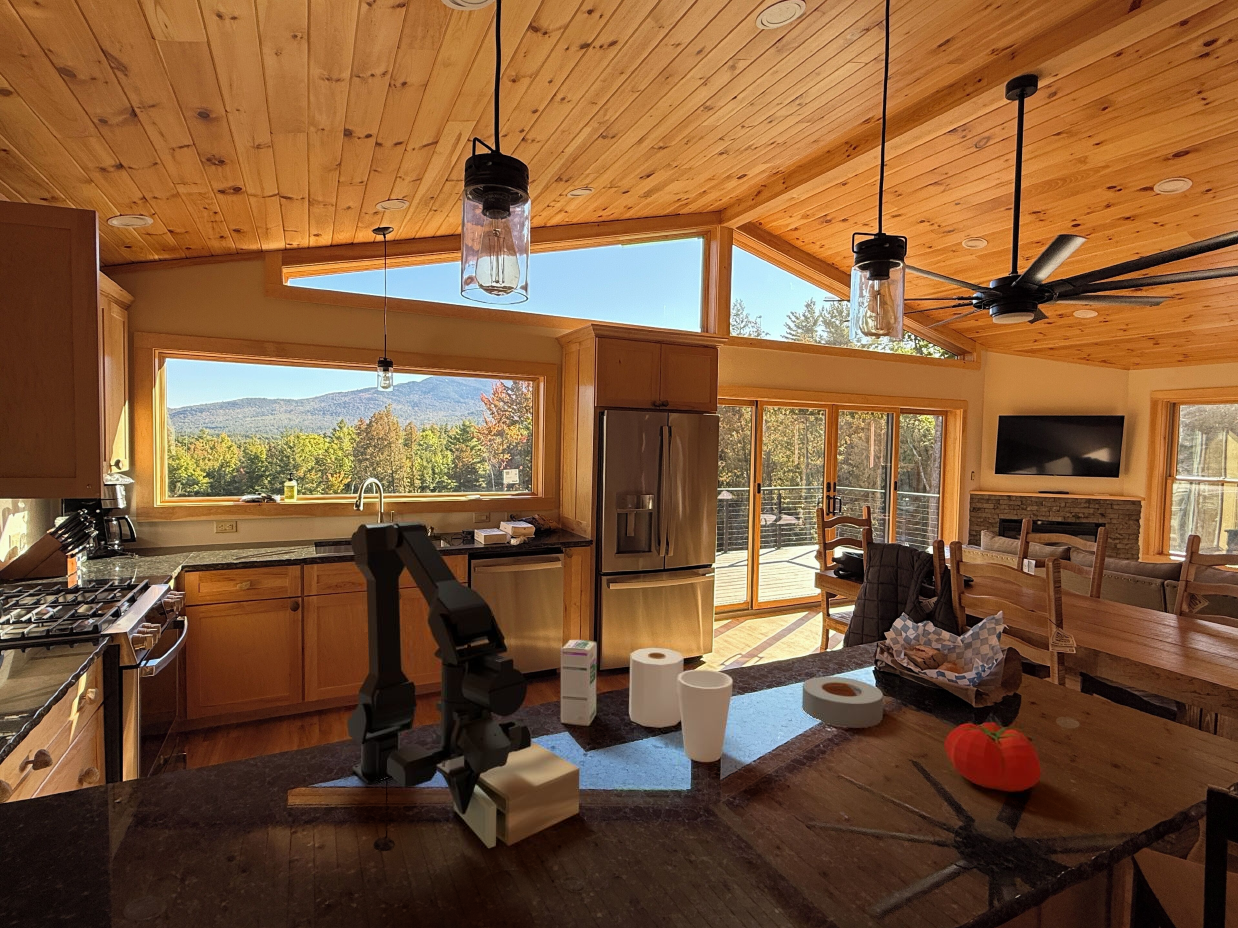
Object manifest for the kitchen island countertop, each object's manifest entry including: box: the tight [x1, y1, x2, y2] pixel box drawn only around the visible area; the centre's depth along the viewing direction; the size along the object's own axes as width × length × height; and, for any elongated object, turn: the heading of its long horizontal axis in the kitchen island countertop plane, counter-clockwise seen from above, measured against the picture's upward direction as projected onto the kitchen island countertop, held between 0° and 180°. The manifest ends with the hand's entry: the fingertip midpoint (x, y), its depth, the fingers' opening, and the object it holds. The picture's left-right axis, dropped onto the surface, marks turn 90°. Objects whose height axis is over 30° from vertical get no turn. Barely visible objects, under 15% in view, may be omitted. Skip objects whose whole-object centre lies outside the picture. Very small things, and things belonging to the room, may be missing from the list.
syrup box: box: [560, 639, 598, 727], centre depth 129 cm, size 6×6×14 cm
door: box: [452, 785, 497, 849], centre depth 92 cm, size 12×1×6 cm, turn 36°
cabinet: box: [476, 740, 580, 847], centre depth 97 cm, size 12×12×6 cm
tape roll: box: [801, 676, 884, 727], centre depth 135 cm, size 15×15×5 cm
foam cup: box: [677, 669, 733, 763], centre depth 116 cm, size 10×9×13 cm
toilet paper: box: [628, 647, 684, 729], centre depth 131 cm, size 10×10×12 cm
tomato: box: [944, 722, 1042, 793], centre depth 108 cm, size 14×13×9 cm
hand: (462, 813), depth 90 cm, fingers closed
